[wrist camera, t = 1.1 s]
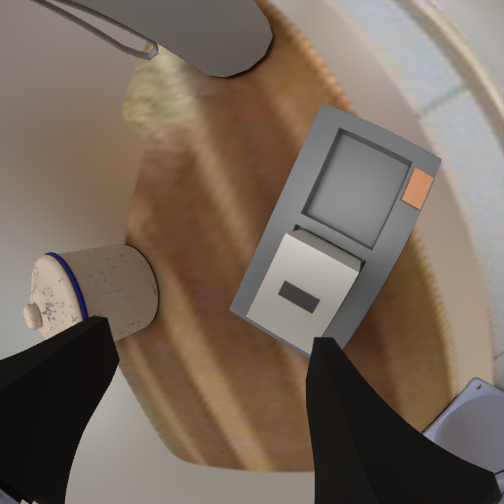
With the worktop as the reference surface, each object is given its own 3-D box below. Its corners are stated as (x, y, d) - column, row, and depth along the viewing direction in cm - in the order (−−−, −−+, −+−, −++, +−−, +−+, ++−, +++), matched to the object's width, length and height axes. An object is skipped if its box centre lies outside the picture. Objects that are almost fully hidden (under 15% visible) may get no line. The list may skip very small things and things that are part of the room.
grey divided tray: (433, 165, 15) (445, 156, 12) (333, 352, 20) (326, 375, 17) (327, 115, 18) (319, 98, 15) (243, 300, 22) (223, 313, 19)
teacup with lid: (108, 227, 27) (7, 239, 16) (171, 266, 24) (52, 298, 13) (96, 322, 30) (16, 352, 19) (149, 366, 27) (64, 417, 16)
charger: (361, 257, 17) (358, 273, 13) (325, 321, 19) (309, 355, 14) (306, 228, 18) (284, 233, 14) (275, 292, 20) (245, 317, 15)
